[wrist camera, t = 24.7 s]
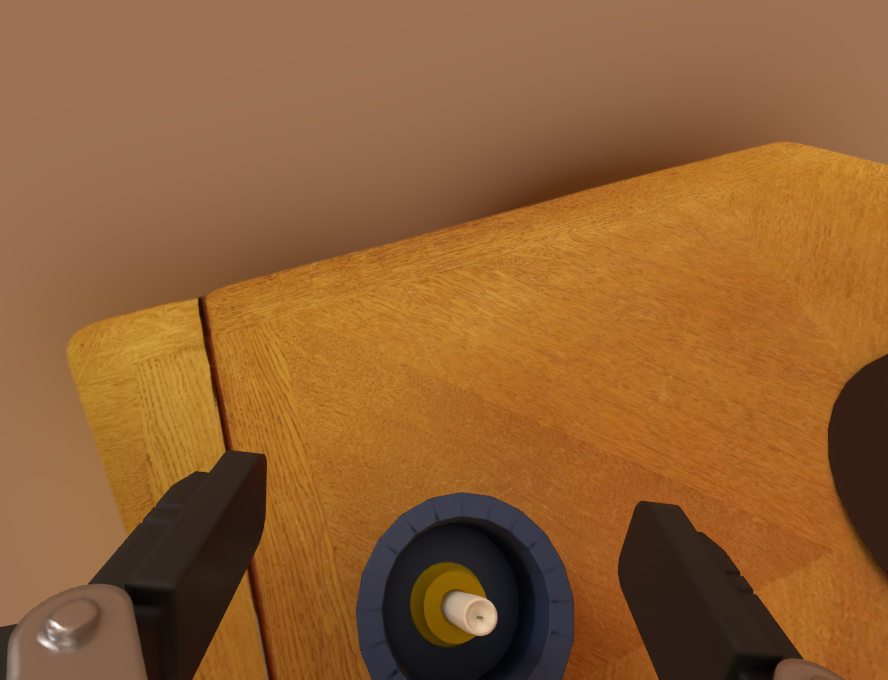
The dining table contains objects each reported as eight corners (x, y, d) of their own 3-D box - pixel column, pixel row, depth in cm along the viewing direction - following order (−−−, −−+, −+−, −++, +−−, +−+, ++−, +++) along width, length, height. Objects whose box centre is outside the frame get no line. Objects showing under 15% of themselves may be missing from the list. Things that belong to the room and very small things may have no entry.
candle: (455, 664, 33) (500, 725, 19) (394, 612, 34) (394, 633, 20) (498, 594, 35) (567, 601, 21) (439, 546, 36) (467, 523, 22)
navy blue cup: (379, 714, 32) (373, 772, 22) (358, 532, 37) (345, 514, 27) (543, 671, 34) (603, 707, 24) (503, 503, 39) (540, 476, 29)
